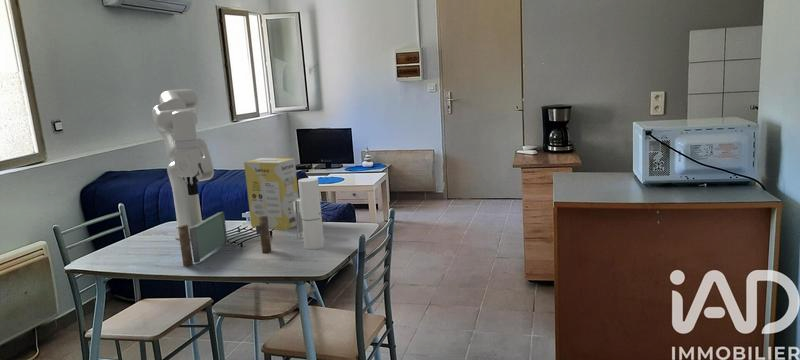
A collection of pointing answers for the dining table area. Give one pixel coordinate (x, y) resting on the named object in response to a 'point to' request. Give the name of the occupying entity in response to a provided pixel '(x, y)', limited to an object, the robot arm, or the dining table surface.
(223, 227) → the gate
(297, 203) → the beer glass
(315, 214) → the cylindrical container
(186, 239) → the hinge post
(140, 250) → the dining table surface
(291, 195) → the pasta box
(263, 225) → the post
